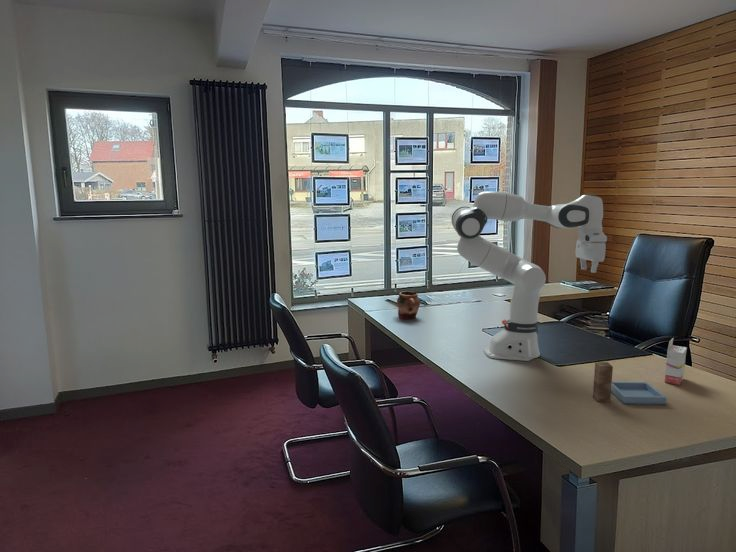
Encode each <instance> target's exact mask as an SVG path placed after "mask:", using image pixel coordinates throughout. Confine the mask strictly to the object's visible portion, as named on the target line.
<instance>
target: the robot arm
mask: <svg viewBox="0 0 736 552" xmlns="http://www.w3.org/2000/svg"><path fill="white" fill-rule="evenodd" d="M526 219H527V220H533V221H534V220H535V221H540V222H544V223H546V224H548V225H549V226H551V227H553V228H556V229H573V228H576V227H577V240H576V245H575V254H574V255H575V257H576V258H578V259H579V263H580V269H581V270H583V271H586V270H587V269H588V264H587V261H589V262H590V261H591V267H590V273H591V274H593V273H595V274H596V273H597V269H598V266H599V262H601V263H602V262H604V261H605V258H606V250H607V249H606V247H607V246H606V242H607V241H608V236H607V235H606V234H605V233H604V232H603V224H602V223H603V222H602V221H603V219H604V203H603V199H602V198H601V197H600V196H598V195H594V194H582V195H580V197H578V198H576V199H575V200H573V201H570V202H568V203H555V204H552V205H541V204H535V203H530V202H527V201H526V200H525V199H524V197H522V196H520V195H517V194H515V193H510V192H504V191H494V190H493V191H489V190H488V191H482V192H481V191H480V192H479V193H478V194H477V195H476V196H475V198H474V202H473V204H472V206H470V207H469V206H460V207H458V208H457V209H455V210H454V212H453V213H452V216H451V224H452V227H453V229H454V230H455V232H456V233H457V235H458V236H459V241H458V243H457V247H456V248H457V249H456V251H457V253H458V254H459V255H460V256H461V257H462V258H464V259H465V260H466V261H467V262H470V263H471V264H472V265H474V266H477V267H479V268H480V269H482V270H485V271H486V272H488V273H490V274H492V275H494V276H497V277H498V278H501V279H503V280H504V281H507V282H509V283H511V284H513V285H514V288H513V294H512V297H511V299H510V302H509V319H508V320H506V319H502V320H501V323H502V325H503V327H504V328H503V329H502V330H500V331H498V332H497V333H496V334H494V335H493V336H491V338H490V342H489V345H488V346H485V347H484V350H483V352H484V355H485V356H486V357H488V358H491V359H496V360H509V361H521V362H522V361H525V362H530V361H531V360H533V359H537V358H538V357H539V358H540V356H541V354H540V349H539V343H538V341H539V340H538V334H539V321H538V315H539V314H538V313H539V303H540V302H539V301H540V297H541V293H542V290H543V287H544V286H545V284H546V281H547V278H546V274H545V272H544V270H543V269H542V267H540V266H539V265H537V264H535V263H534V262H533V263H532V262H530V261H528V260H526V259H524V258H522V257H520V256H519V255H517V254H514V253H513V252H511V251H509V250H507V249H506V248H503V247H502V246H499V245H497V244H495V243H493V242H491V241H490V240H488V239H486V238H484V237H482V236H481V234H482V232H483V230H484V228H485V227H486V225H487V222H488V220H495V221H504V222H517V221H520V220H526Z"/></svg>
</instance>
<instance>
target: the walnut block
mask: <svg viewBox="0 0 736 552" xmlns="http://www.w3.org/2000/svg"><path fill="white" fill-rule="evenodd" d="M613 369H614V366H613V365H612V364H611V363H609V362H608V361H600V362H599V361H595V362H594V373H593V374H594V376H593V387H592V388H593V389H592V398H593V399H594V400H595V401H596V402H597V403H611V398H612V393H611V385H612V382H613Z"/></svg>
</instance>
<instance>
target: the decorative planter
mask: <svg viewBox="0 0 736 552" xmlns="http://www.w3.org/2000/svg"><path fill="white" fill-rule="evenodd" d="M396 305H397V308H398V310H397V311H398V312H397V313H398V314H397V316H398V317H399V319H400V320H412V319H416V317H417V314H418V312H419V308H420V306H421V301H420V299H419V294H418V293H417V292H416V291H408V290H406V291H401V292H399V294H398V297H397V299H396Z"/></svg>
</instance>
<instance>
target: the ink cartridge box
mask: <svg viewBox="0 0 736 552" xmlns="http://www.w3.org/2000/svg"><path fill="white" fill-rule="evenodd" d="M674 339H675V338H674V337H673V338H671V339H670V340H669V342H668V346H667V352H666V363H665V373H664V375H665V376H664V377H665V378H664V383H668V384H672V385H677V386H680V385H681V383H682V382H683V380H684V375H685V365H686V356H687V350H688V347H686V346H679V345H674V344H673V343H674Z"/></svg>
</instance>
